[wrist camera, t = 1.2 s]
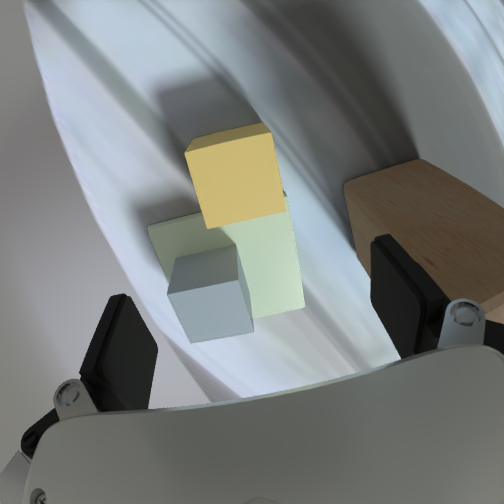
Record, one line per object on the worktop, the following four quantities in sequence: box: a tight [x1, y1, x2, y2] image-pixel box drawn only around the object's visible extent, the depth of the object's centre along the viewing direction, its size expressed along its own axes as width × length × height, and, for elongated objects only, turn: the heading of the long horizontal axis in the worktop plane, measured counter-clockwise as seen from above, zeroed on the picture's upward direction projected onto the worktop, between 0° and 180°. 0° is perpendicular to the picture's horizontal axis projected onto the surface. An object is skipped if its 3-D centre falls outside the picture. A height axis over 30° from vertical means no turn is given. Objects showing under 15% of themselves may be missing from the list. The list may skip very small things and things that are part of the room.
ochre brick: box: [185, 122, 286, 229], centre depth 25 cm, size 6×6×6 cm
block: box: [343, 159, 504, 324], centre depth 23 cm, size 10×10×20 cm
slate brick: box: [167, 244, 254, 343], centre depth 30 cm, size 6×6×6 cm
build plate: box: [147, 193, 305, 318], centre depth 33 cm, size 14×14×1 cm
